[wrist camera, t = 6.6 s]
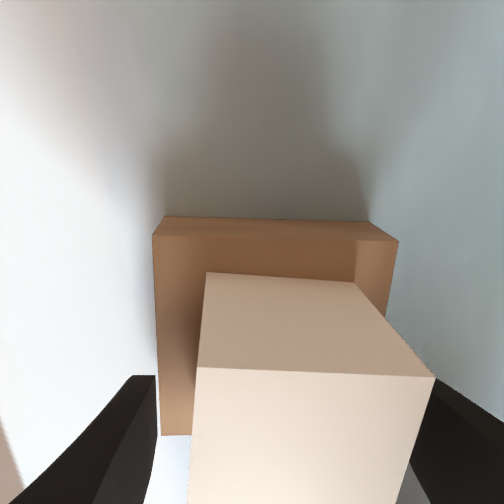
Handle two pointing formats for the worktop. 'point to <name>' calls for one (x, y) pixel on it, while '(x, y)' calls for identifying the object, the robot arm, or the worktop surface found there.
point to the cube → (301, 395)
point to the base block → (248, 263)
